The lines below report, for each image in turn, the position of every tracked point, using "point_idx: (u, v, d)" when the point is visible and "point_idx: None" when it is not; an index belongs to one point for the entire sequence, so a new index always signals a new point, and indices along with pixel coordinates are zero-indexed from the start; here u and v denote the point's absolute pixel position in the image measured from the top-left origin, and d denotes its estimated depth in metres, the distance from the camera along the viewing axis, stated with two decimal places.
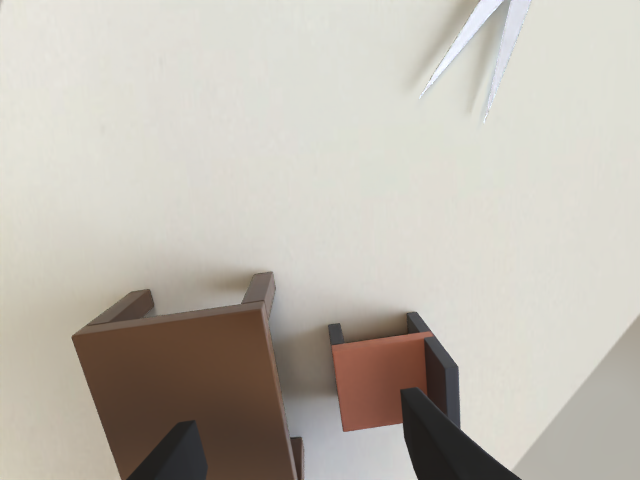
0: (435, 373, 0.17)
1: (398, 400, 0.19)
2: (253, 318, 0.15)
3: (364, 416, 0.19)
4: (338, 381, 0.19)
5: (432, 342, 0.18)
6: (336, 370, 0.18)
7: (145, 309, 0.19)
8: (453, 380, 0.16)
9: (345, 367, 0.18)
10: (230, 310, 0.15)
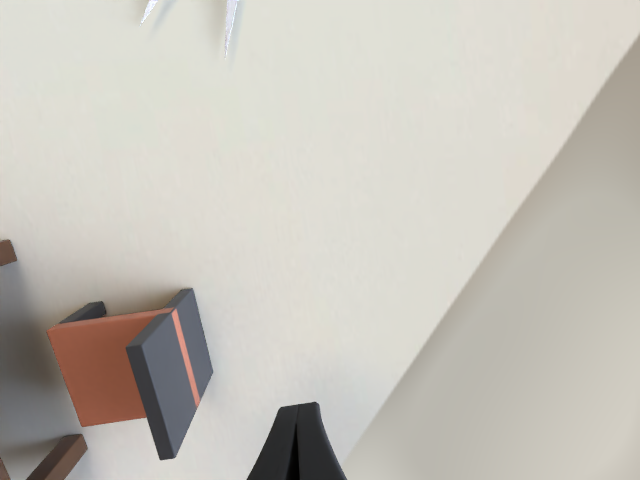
0: None
1: None
2: None
3: (103, 408, 0.16)
4: (61, 366, 0.16)
5: (157, 319, 0.15)
6: (55, 353, 0.16)
7: None
8: (139, 362, 0.13)
9: (66, 349, 0.16)
10: None
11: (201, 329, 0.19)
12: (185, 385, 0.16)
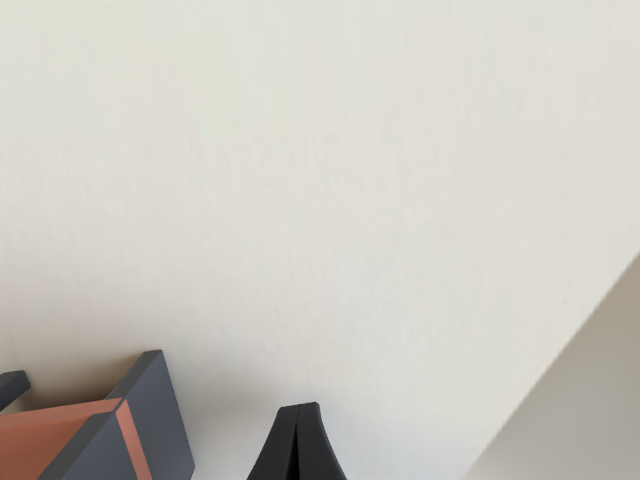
0: None
1: None
2: None
3: None
4: None
5: (87, 429, 0.08)
6: None
7: None
8: None
9: None
10: None
11: (175, 410, 0.12)
12: None
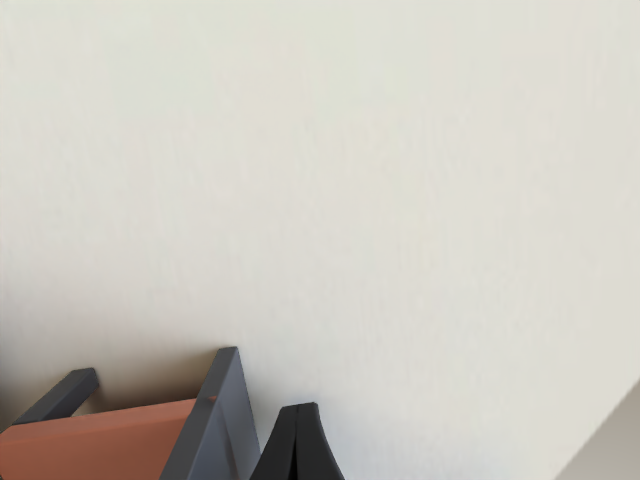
0: None
1: None
2: None
3: None
4: None
5: (191, 430, 0.08)
6: None
7: None
8: None
9: (25, 476, 0.09)
10: None
11: (249, 409, 0.12)
12: None
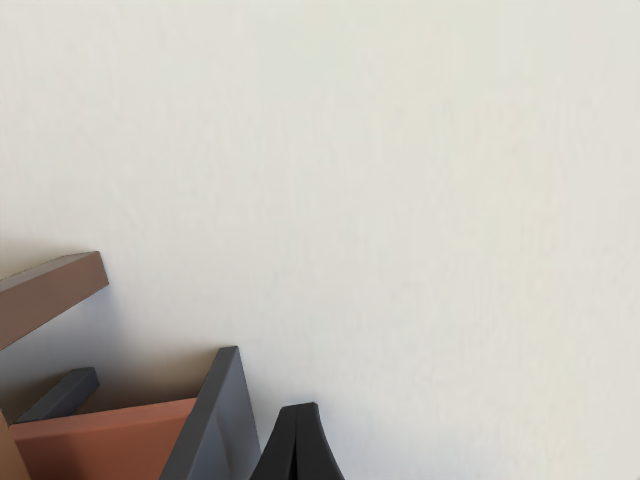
0: None
1: None
2: None
3: None
4: None
5: (191, 429, 0.08)
6: None
7: None
8: None
9: None
10: None
11: (249, 408, 0.12)
12: None
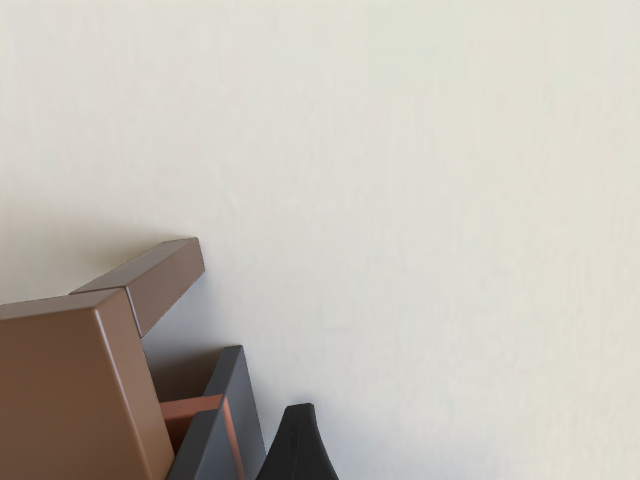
0: None
1: None
2: (74, 333, 0.05)
3: None
4: None
5: (198, 428, 0.08)
6: None
7: None
8: None
9: None
10: (16, 313, 0.06)
11: (254, 407, 0.12)
12: None
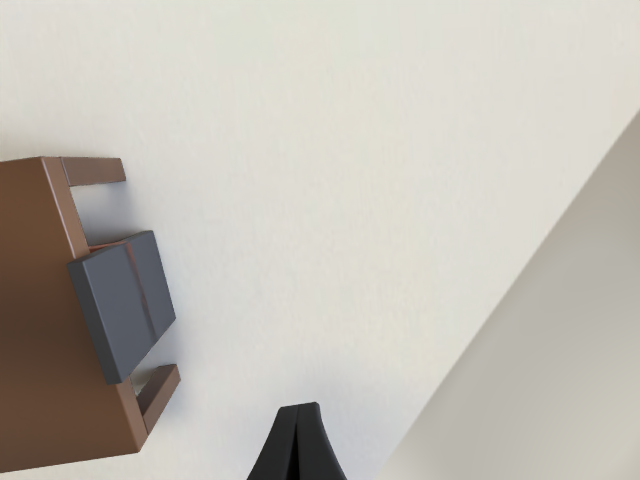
0: None
1: None
2: (32, 169, 0.12)
3: None
4: None
5: (107, 247, 0.15)
6: None
7: None
8: (81, 280, 0.13)
9: None
10: (6, 161, 0.12)
11: (162, 273, 0.19)
12: (139, 319, 0.16)
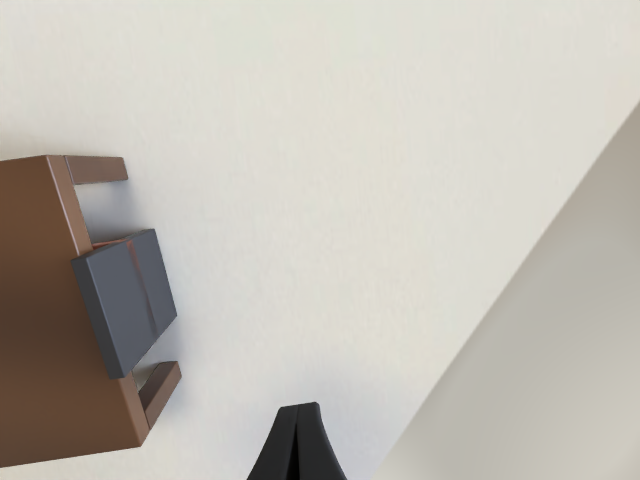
0: None
1: None
2: (37, 167, 0.12)
3: None
4: None
5: (110, 245, 0.15)
6: None
7: None
8: (85, 276, 0.13)
9: None
10: (12, 160, 0.13)
11: (163, 270, 0.19)
12: (141, 315, 0.16)
